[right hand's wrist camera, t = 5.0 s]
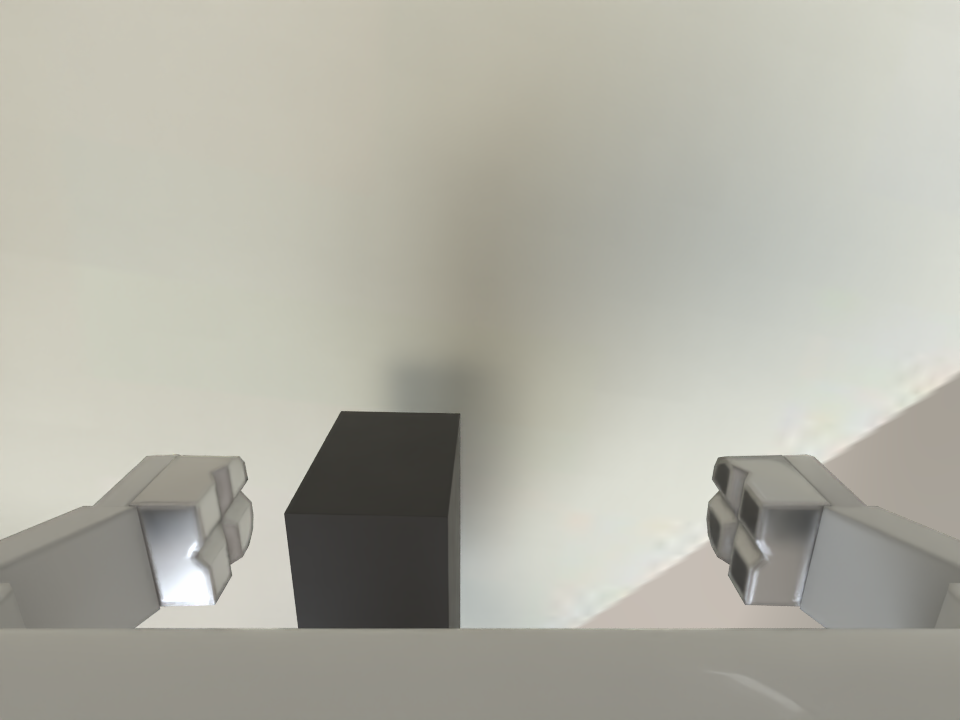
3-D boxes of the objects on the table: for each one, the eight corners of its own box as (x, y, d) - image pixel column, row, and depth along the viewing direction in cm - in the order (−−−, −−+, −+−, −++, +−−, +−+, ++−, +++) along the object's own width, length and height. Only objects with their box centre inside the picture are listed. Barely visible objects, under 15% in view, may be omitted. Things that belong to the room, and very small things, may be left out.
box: (340, 410, 31) (283, 513, 23) (460, 413, 31) (448, 516, 23) (364, 720, 39) (328, 882, 31) (460, 722, 39) (450, 886, 31)
